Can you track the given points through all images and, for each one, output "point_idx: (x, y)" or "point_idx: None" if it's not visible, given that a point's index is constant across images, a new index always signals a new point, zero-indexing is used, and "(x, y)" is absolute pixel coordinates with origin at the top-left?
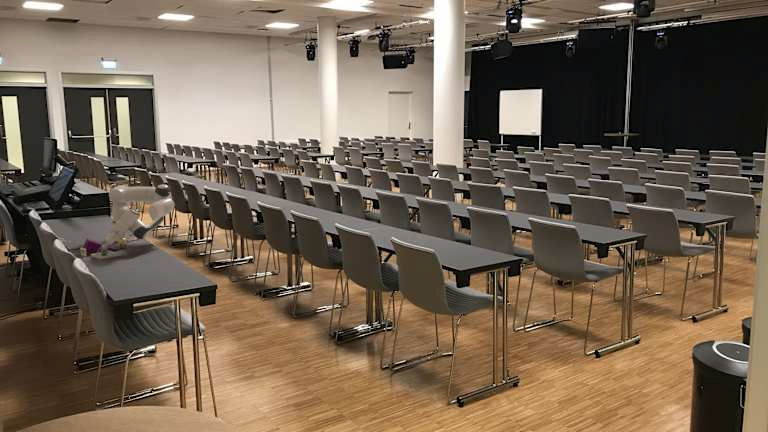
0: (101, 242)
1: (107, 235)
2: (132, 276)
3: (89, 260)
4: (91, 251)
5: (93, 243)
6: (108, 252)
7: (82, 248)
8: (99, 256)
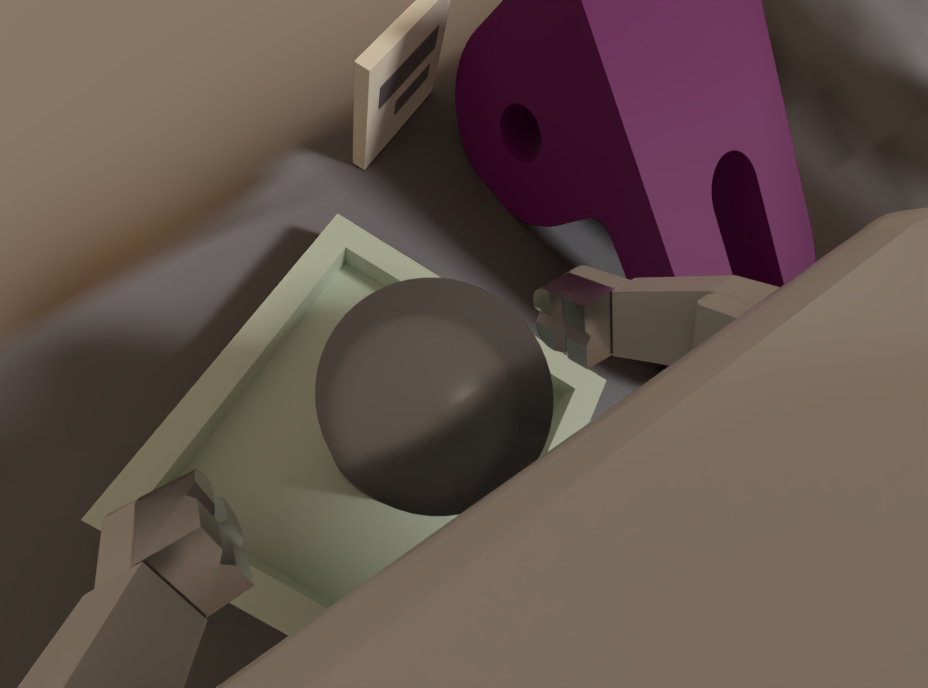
0: (322, 356)
1: (900, 285)
2: None
3: (41, 336)
4: (502, 157)
5: (584, 82)
6: (561, 405)
7: (405, 13)
8: (117, 477)
